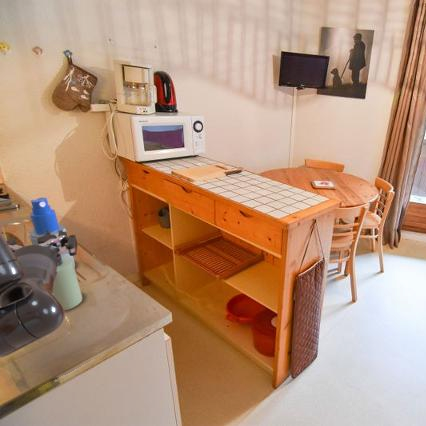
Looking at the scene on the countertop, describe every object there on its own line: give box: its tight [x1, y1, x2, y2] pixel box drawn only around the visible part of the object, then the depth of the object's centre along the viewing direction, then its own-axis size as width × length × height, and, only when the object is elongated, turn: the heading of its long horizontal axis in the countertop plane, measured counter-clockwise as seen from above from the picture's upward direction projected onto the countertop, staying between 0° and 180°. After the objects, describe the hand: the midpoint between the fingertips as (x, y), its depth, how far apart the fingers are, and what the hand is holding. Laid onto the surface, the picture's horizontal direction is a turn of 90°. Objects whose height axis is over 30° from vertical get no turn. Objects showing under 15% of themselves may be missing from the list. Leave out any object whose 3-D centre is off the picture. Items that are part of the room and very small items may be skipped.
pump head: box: [37, 231, 57, 245], centre depth 86 cm, size 7×4×4 cm, turn 35°
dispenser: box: [53, 256, 83, 312], centre depth 89 cm, size 8×8×15 cm
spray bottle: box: [29, 197, 76, 268], centre depth 101 cm, size 9×9×25 cm
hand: (38, 237), depth 73 cm, fingers open, 8 cm apart
